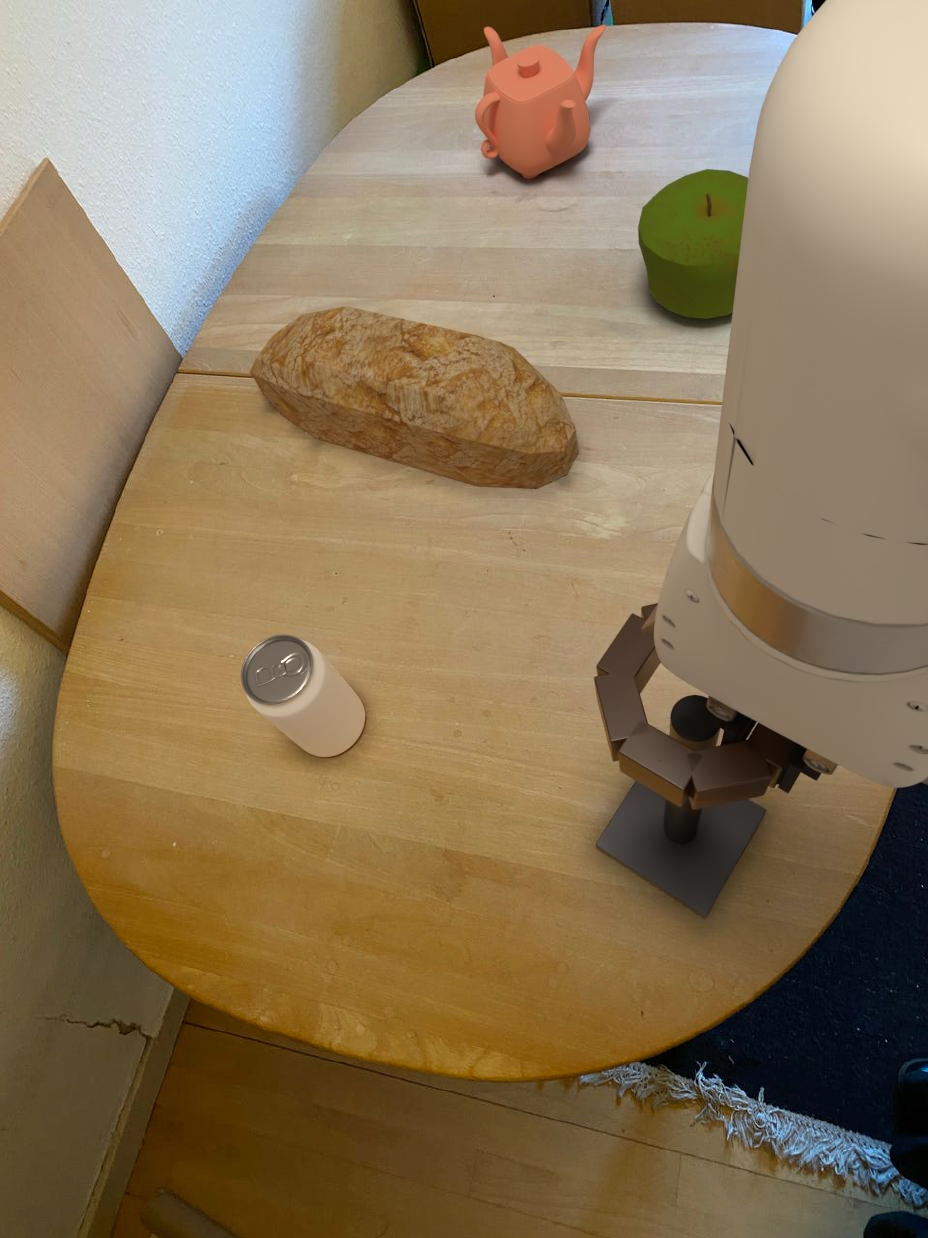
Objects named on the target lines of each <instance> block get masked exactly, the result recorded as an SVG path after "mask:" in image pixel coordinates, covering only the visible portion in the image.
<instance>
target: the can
mask: <svg viewBox="0 0 928 1238" xmlns="http://www.w3.org/2000/svg"><path fill="white" fill-rule="evenodd" d="M240 682H241V686H242V688H243V690H244V692H245V695H246V698H247V700H248V702H249V704H250V706H251V707H252V708H253V709H254V710H255V711H256V712H257V713H259V714H260V715H261V716H262V717H263V718H265V719H266V720H267V721H268V722H269V723H271V724H272V725H273V726H274V727H275V728H276V729H278V730H279V731H280V732H281V733H283V734H284V735H285V736H286V737H288V738H289V739H290V740H291V741H292V742H293V743H294V744H296V745H297V746H298V747H300V748H301V749H302V750H303V751H305V753H308V754H309V755H312V756H315V757H319V758H330V757H334V756H338V755H340V754H342V753H344V752H346V751H348V749H350V748H351V747H352V746H353V745H354V744H355V743H356V742H357V741H358V739H359V738H360V736H361V734H362V732H363V730H364V727H365V723H366V711H365V707H364V704H363V702H362V701H361V699H360V697H359V696H358V695H357V693H356V692H355V691H354V689H353V688H352V687H351V686H350V685H349V683H348V682H347V681H346V680H345V679H344V677H343V676H342V675H341V674H340V673H339V672H338V671H337V669H336V668H335V667H334V666H333V665H332V664H331V662H329V660H328V659H327V658H326V657H325V655H323V653H322V652H321V651H320V650H319V649H318V648H317V647H316V646H314V644H312V643H310V642H309V641H307V640H304V639H300V638H299V637H297V636H295V635H291V634H275V635H271V636H269V637H267V638H265V639H263V640H261V641H259V642H258V643H256V645H255V646H254V647H253V648H251V650H250V651H249V652H248V653H247V655H246V657H245V658H244V661H243V663H242V666H241V670H240Z"/></svg>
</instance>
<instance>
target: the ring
mask: <svg viewBox="0 0 928 1238" xmlns="http://www.w3.org/2000/svg"><path fill="white" fill-rule="evenodd" d="M657 604H658V602H656V603H651V604H647V605H643V606H641V608H640V616H639V615H637V614H635V613H633V612H632V613H631V614H630V615H629V616H628V618H627V619H626V621H625V622H624V624H623V625H622V627H621V628H620V630H619V631H618V632H617V634H616V636H615V637H614V639H613V640H612V642H611V643H610V645H608V647H607V649H606V651H605V652H604V654H603V655H602V656H601V658H600V660H599V661H598V662H597V663H596V666H595V667H596V668H595V669H596V674H597V675H596V676H593V681H594V689H595V695H596V702H597V705H598V708H599V713H600V718H601V723H602V725H603V729H604V733H605V737H606V741H607V745H608V749H609V753H610V757H611V761H612V762H614V763H615V762H618V766H619V772H621V773H623V774H624V775H626V776H627V777H629V778H631V779H633V780H634V781H638V782H639V783H641V784H642V785H644V786H646V787H647V788H649V789H651V790H652V791H654V792H656V793H657V794H659V795H661V796H662V797H664V798H666V799H667V800H669V801H671V802H672V803H674V804H675V805H677V806H679V807H682V806H683V805H684V803H685V801H686V800H687V798H688V796H689V799H690V803H691V806H692V809H694V810H696V809H701V808H706V807H711V806H715V805H720V804H725V803H730V802H735V801H740V800H745V799H749V800H751V799H753V798H758V797H763V796H765V794H766V792H767V790H768V788H771V789H775V788H776V786H777V785H778V784H777V782H778V780H779V778H780V776H781V774H782V772H783V770H784V767H783V765H784V763H785V761H786V759H787V757H788V755H789V754H790V752H791V750H792V748H793V747H794V745H795V743H796V742H794V741H792V740H790V739H788V738H787V737H785V736H783V735H781V734H779V733H777V732H775V731H773V730H772V729H770V728H768V727H766V726H764V725H762V724H760V723H759V722H757V723H756V724H755V726H754V728H753V729H752V731H751V733H750V734H749V736H748V738H747V739H746V740H743V741H740V742H739V743H738V742H734V743H729V744H724V745H717V746H715V747H710V748H705V749H701V750H696V751H695V750H693V749H692V748H690V747H688V746H686V745H685V744H683V743H681V742H679V741H678V740H676V739H674V738H672V737H671V736H669V734H667V733H665V732H663V731H662V730H660V729H658V728H657V727H655V726H653V725H652V724H649V721H648V717H647V713H646V710H645V707H644V704H643V700H642V696H641V694H642V692H643V691H644V689H645V687H646V686H647V684H648V683H649V681H650V680H651V678H652V677H653V675H654V674H655V672H656V670H657V669H658V668H659V667H660V665H661V664H662V663H661V661H660V659H659V657H658V655H657V652H656V648H655V643H654V641H653V640H651V639H650V638H649V637H647V636H646V635H645V634H644V633H643V632H642V629H641V628H642V627H643V625H644V624H645V622H646V621H647V619H648V618H649V616H650V615H651V613H652V612H653V610H654V609H655V607H656V606H657Z"/></svg>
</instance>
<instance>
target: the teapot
mask: <svg viewBox="0 0 928 1238" xmlns="http://www.w3.org/2000/svg"><path fill="white" fill-rule="evenodd" d="M606 29H607V25H606V24H601V25H599V26H597V27H596V28H594V29H593V30H591V32H589V34H587V36H586V38H585V39H584V42H583V45H582V47H581V50H580V55H579V59H578V63H577V66H576V67H575V70H573V68H572V66H571V65H570V64H569V63H568V62H567V61H566V60H565V58H563V57H562V56H561V55H560V54H558V53H557V52H556V51H554V50H553V49H551V48H549V47H547V46H545V45H542V44H533V45H531V46H529V47H525V48H523V49H521V50H520V51H517V52H515V53H514V54H512V55H510V56H509V55H508V53H507V50H506V49H505V46H504V44H503V42H502V40H501V38H500V35H499V34H498V33H497V31H496V30H495V29H494V28H493V27H490V26H485V27H484V28H483V32H484V36H485V38H486V40H487V43H488V45H489V48H490V53H491V63H492V66H491V67H489V68H488V70H486V75H485V79H484V86H483V94H482V95H483V96H482V98H480V100H479V102H478V103H477V105H476V107H475V110H474V118H475V123H476V124H477V126H478V128H479V130H480V132H481V133H482V134H483V135H484V136H485V138H486V139H485V140H484V141H483V142H482V143H481V145H480V152H481V154H482V156H483V158H485V159H488V160H490V159H491V160H492V159H495V158H497V157H499V158H500V159H501V161H502V162H504V163H505V164H506V165H507V166H508V167H510V168H511V169H512V170H514V171H516V172H517V173H519V174H521V176H522V177H523V179H524V178H525V179H529V180H530V179H534V178H536V177H538V176H539V175H540V174H541V173H544V172H546V171H548V170H550V169H552V168H555V167H557V166H558V165H560V164H562V163H564V162H566V161H568V160H569V159H572V158H574V157H576V156H577V155H578V154H579V153H581V152H582V151H583V150H584V149H585V148H586V147H587V144H588V142H589V139H590V136H591V131H592V130H591V129H592V128H591V118H590V114H589V109H588V104H587V100H588V98H589V96H590V94H591V91H592V88H593V84H594V73H595V52H596V47H597V45H598V42H599V40H600V38H601V37H602V35H603V34H604V32H605V31H606ZM489 147H490V148H489ZM488 148H489V149H488Z"/></svg>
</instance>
